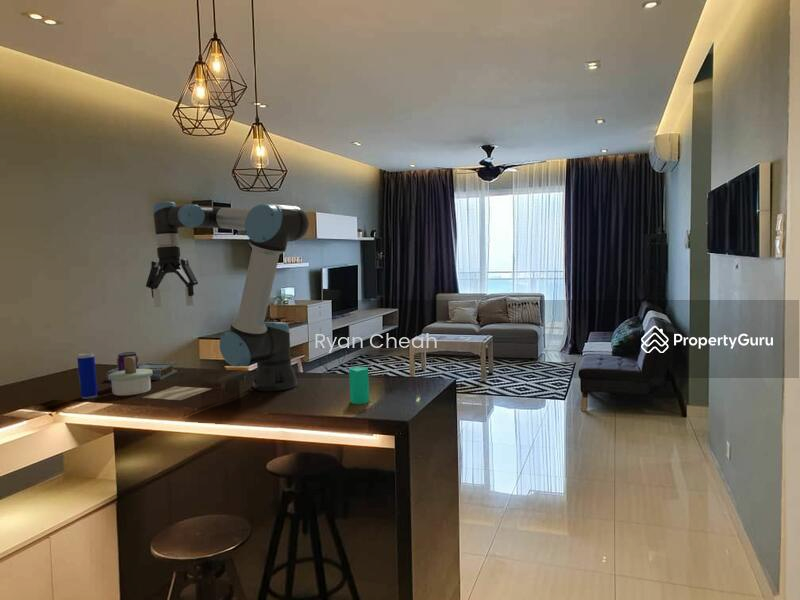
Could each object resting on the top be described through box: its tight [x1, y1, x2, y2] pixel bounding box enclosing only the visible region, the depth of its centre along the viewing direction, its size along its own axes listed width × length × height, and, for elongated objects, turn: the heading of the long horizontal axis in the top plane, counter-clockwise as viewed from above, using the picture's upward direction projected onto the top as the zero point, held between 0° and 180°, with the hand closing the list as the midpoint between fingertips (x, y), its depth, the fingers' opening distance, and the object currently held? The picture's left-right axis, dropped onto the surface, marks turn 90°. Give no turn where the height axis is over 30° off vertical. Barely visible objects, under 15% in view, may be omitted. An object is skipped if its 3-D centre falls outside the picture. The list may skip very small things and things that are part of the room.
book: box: [105, 361, 178, 382], centre depth 237 cm, size 21×16×5 cm
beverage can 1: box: [76, 352, 98, 400], centre depth 204 cm, size 5×5×15 cm
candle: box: [348, 363, 370, 405], centre depth 186 cm, size 6×6×12 cm
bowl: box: [110, 376, 152, 396], centre depth 209 cm, size 12×12×6 cm
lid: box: [108, 356, 153, 381], centre depth 208 cm, size 14×14×7 cm
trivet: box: [141, 385, 213, 401], centre depth 203 cm, size 16×16×1 cm
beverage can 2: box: [116, 351, 139, 371], centre depth 221 cm, size 7×7×12 cm
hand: (173, 306), depth 212 cm, fingers open, 13 cm apart
